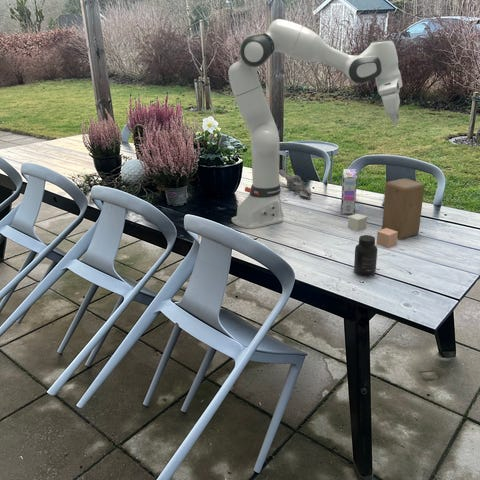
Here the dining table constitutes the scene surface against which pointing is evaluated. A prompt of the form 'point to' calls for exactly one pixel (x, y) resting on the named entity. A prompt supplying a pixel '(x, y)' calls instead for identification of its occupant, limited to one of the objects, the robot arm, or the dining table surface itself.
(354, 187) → the candy box
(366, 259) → the supplement bottle
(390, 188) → the wooden block
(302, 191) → the spaceship
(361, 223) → the cream cube
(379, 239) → the peach cube
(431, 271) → the dining table surface
